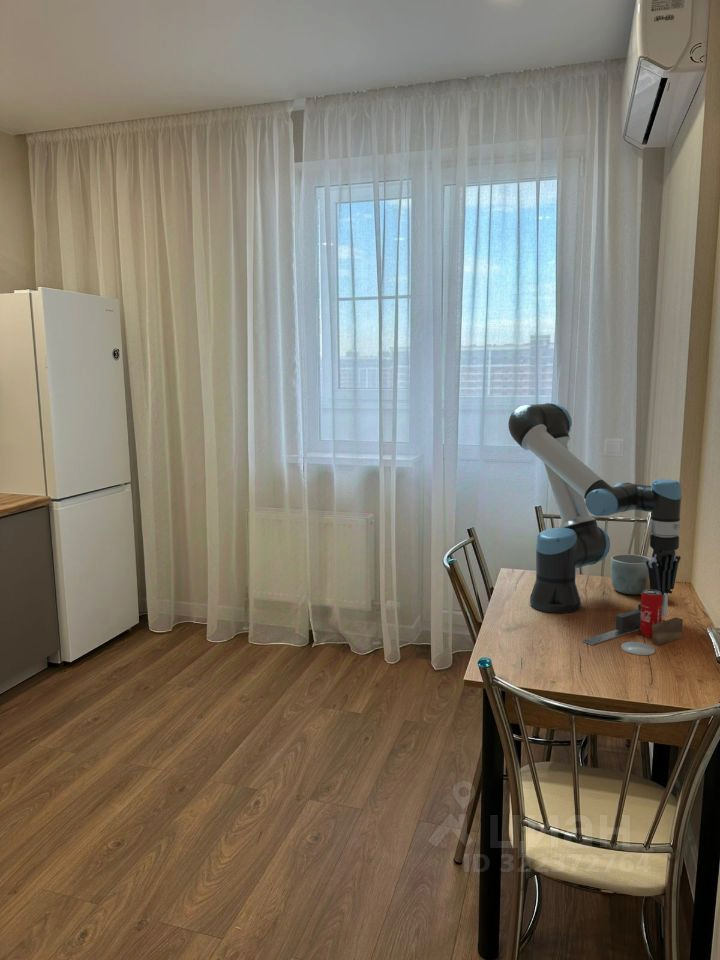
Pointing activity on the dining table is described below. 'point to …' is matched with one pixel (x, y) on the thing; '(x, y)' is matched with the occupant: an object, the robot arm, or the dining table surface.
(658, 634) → the block
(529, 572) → the dining table surface
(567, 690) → the dining table surface
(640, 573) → the planter
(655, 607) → the beverage can
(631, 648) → the coaster
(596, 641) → the rail
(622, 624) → the dark grey block
